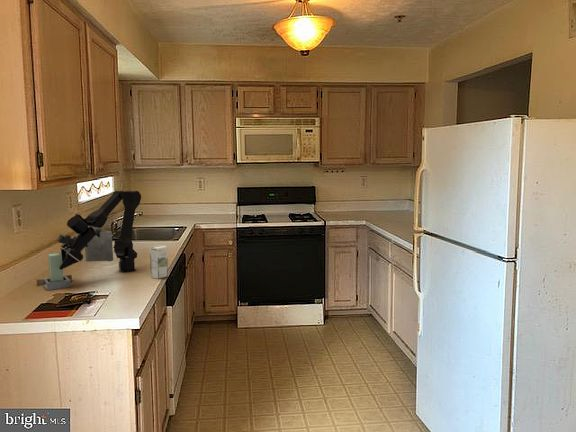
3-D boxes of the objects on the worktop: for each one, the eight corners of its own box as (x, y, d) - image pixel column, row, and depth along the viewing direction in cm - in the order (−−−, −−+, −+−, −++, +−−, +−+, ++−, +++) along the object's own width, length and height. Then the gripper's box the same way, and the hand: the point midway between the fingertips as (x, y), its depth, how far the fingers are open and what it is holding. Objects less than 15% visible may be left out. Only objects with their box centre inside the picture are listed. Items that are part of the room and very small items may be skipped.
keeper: (66, 282, 213) (65, 275, 213) (70, 286, 206) (70, 280, 205) (43, 285, 208) (43, 278, 207) (47, 290, 201) (46, 283, 200)
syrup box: (160, 274, 226) (159, 244, 224) (168, 276, 222) (167, 246, 220) (150, 277, 221) (149, 246, 220) (158, 279, 218) (157, 248, 216)
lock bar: (61, 284, 210) (59, 253, 208) (63, 286, 206) (61, 254, 204) (50, 286, 207) (48, 254, 206) (52, 288, 204) (50, 256, 202)
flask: (87, 259, 259) (85, 226, 257) (114, 259, 260) (112, 226, 258) (84, 261, 256) (82, 227, 254) (112, 260, 256) (110, 227, 254)
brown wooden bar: (71, 279, 217) (70, 274, 217) (72, 280, 216) (71, 275, 216) (36, 284, 209) (36, 279, 209) (37, 285, 208) (37, 280, 208)
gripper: (64, 224, 215) (38, 252, 210) (73, 230, 200) (45, 259, 195) (84, 240, 220) (59, 267, 215) (94, 246, 205) (68, 275, 200)
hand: (57, 267), depth 206 cm, fingers open, 9 cm apart
